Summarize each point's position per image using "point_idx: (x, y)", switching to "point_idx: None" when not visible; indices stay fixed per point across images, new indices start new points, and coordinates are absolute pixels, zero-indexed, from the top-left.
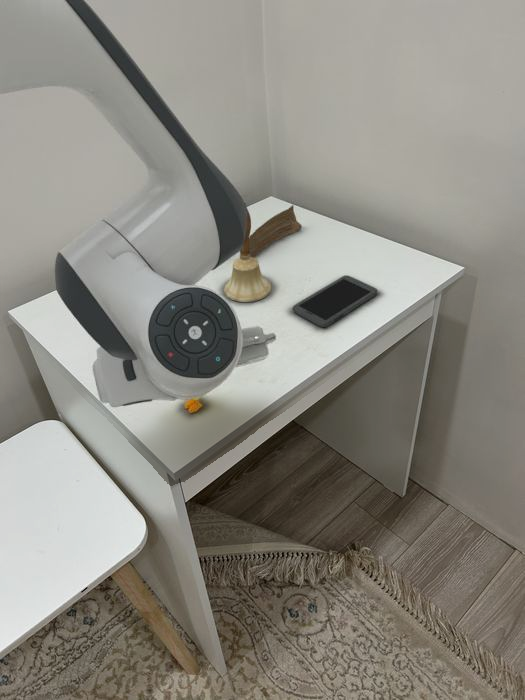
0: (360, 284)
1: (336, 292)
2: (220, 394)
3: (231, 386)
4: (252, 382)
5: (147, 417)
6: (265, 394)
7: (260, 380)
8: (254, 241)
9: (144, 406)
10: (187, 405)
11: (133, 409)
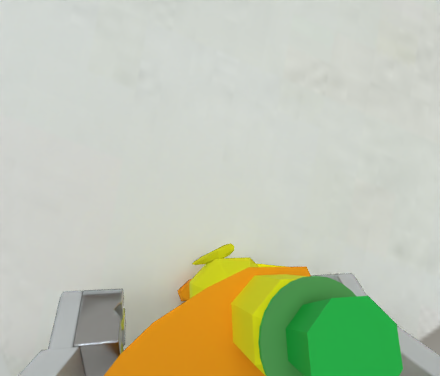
0: None
1: None
2: None
3: (321, 245)
4: (378, 248)
5: (55, 298)
6: (403, 309)
7: (399, 248)
8: None
9: (55, 244)
10: (187, 298)
11: (17, 246)
